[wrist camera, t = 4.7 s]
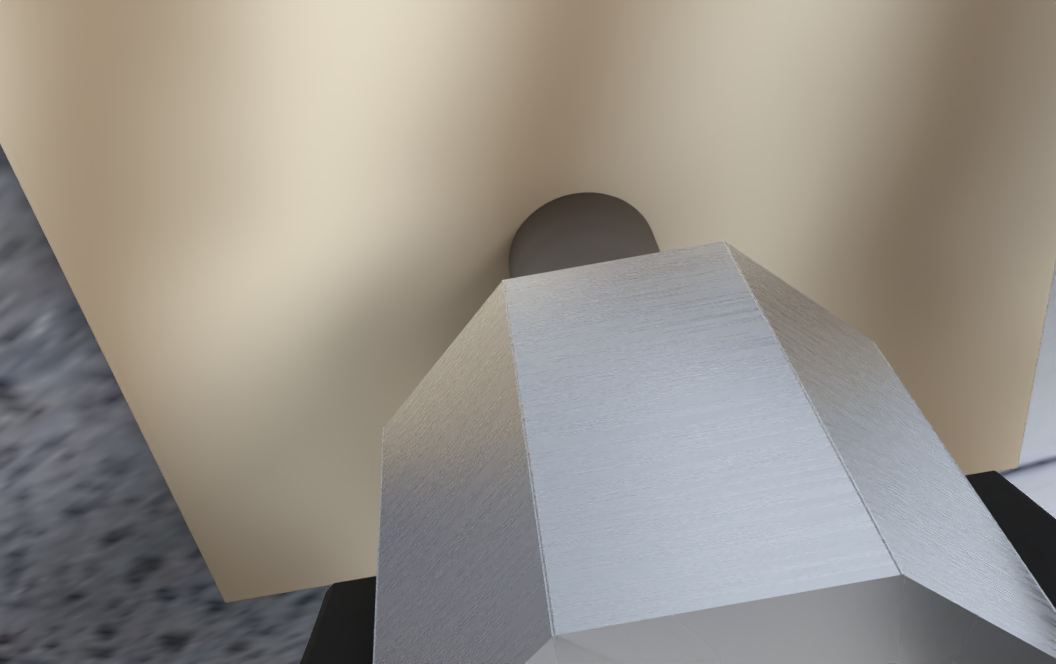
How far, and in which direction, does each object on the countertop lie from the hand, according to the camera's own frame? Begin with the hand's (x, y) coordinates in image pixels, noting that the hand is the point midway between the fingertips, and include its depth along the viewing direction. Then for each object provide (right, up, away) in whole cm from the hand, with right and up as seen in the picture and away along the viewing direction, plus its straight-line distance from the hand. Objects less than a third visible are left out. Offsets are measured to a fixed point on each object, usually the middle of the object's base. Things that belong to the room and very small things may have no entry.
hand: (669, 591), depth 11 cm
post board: (-1, +5, +7) cm, 8 cm away
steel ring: (0, +1, +1) cm, 2 cm away
